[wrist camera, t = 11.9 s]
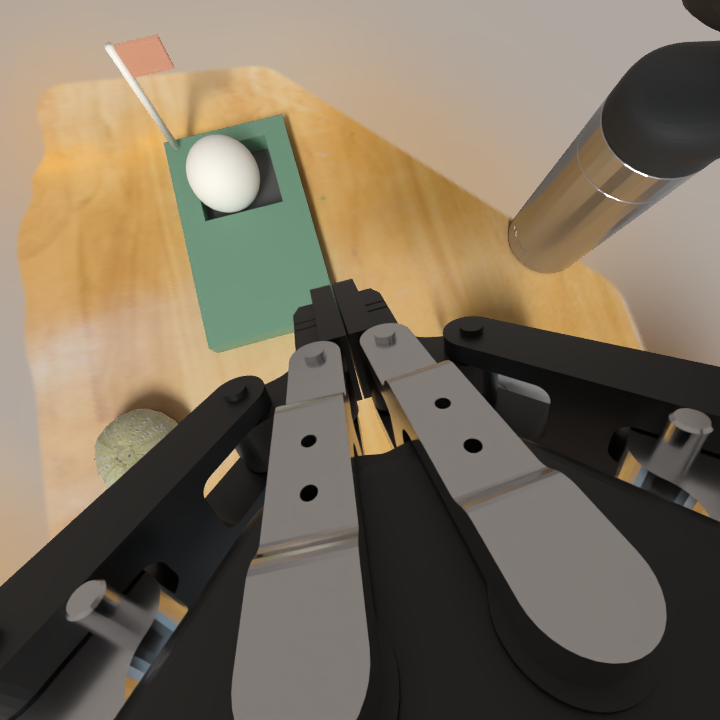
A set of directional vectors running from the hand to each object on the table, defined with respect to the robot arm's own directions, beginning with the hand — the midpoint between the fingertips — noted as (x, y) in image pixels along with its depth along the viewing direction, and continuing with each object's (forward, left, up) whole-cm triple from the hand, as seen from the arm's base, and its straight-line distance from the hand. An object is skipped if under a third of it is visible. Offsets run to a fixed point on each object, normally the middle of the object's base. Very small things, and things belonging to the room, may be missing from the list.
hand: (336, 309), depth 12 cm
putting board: (+7, -22, -29) cm, 37 cm away
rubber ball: (+8, -27, -25) cm, 38 cm away
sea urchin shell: (+24, +1, -30) cm, 38 cm away
